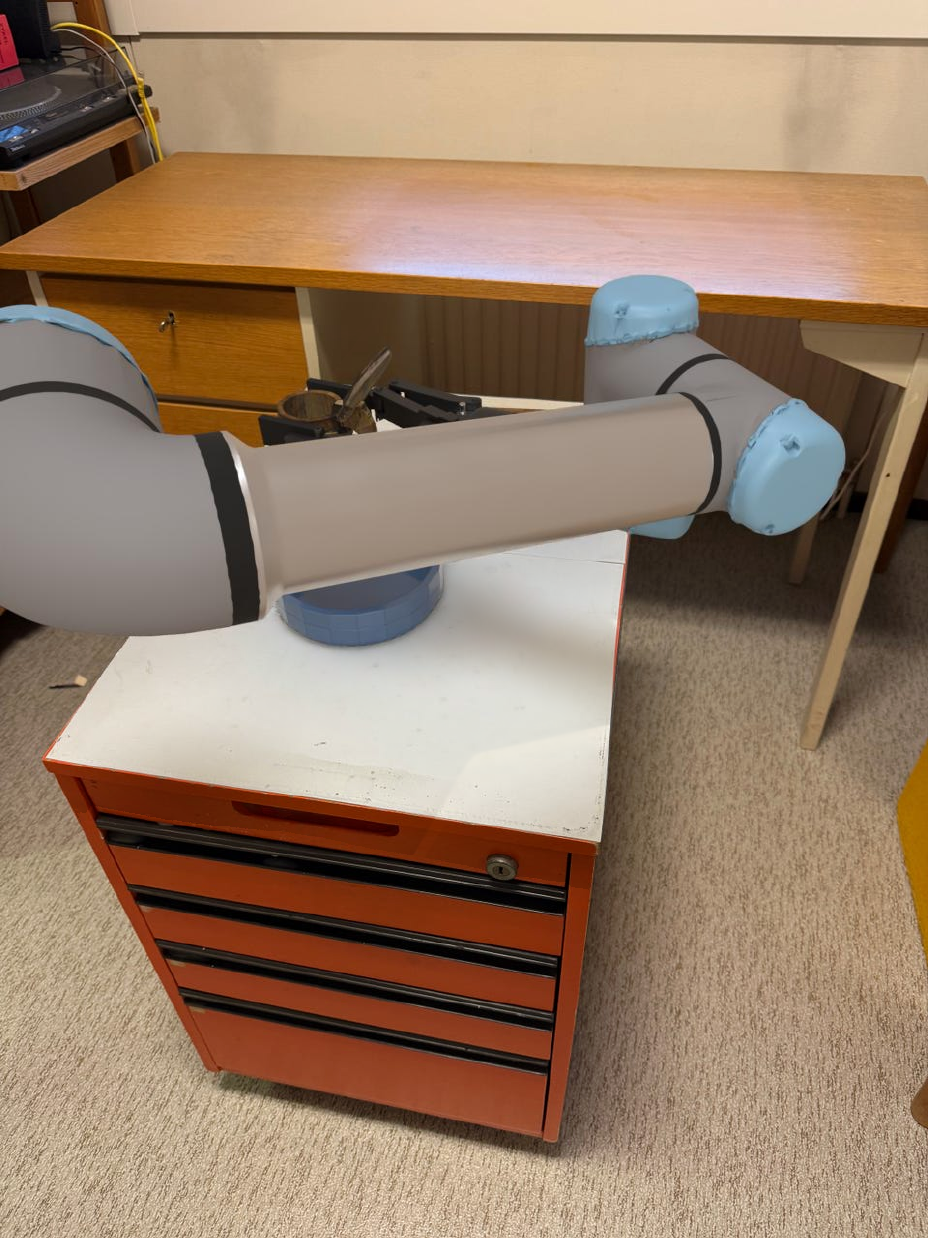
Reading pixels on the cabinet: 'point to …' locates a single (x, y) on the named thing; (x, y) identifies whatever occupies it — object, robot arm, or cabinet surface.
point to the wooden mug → (338, 402)
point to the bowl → (364, 607)
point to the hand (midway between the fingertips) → (287, 410)
